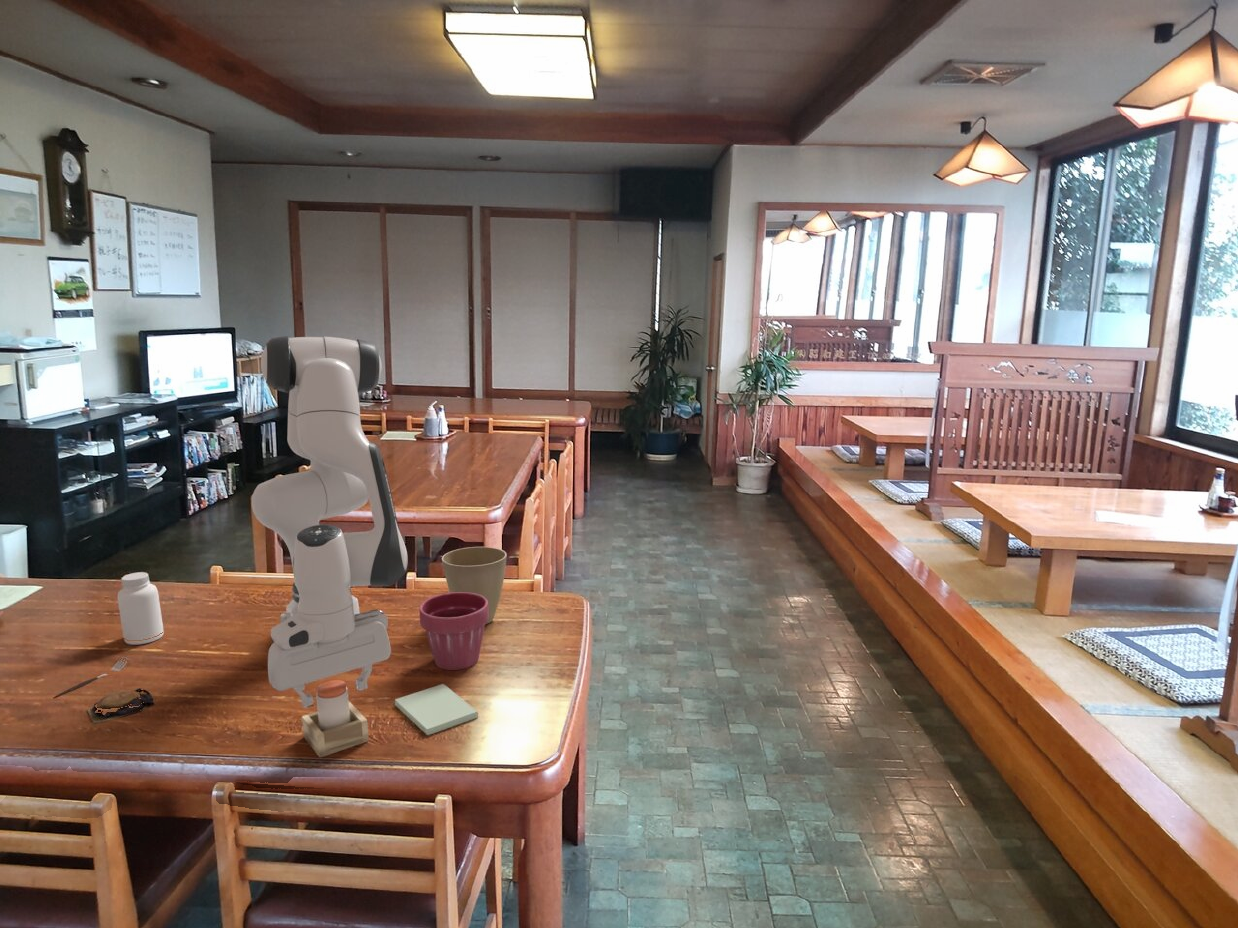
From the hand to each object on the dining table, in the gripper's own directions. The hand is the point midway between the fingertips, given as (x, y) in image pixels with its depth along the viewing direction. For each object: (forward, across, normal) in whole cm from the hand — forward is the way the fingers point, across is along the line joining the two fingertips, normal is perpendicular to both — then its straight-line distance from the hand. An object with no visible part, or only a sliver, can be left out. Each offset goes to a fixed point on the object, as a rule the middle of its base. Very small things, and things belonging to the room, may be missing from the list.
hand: (335, 697), depth 145 cm
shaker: (+7, 0, -1) cm, 7 cm away
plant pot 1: (+8, -45, -32) cm, 56 cm away
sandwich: (+8, +28, -38) cm, 48 cm away
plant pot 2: (+8, -31, -15) cm, 35 cm away
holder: (+8, 0, -1) cm, 8 cm away
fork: (+8, +31, -55) cm, 63 cm away
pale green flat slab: (+8, -18, +2) cm, 19 cm away
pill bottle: (+7, +19, -72) cm, 75 cm away
